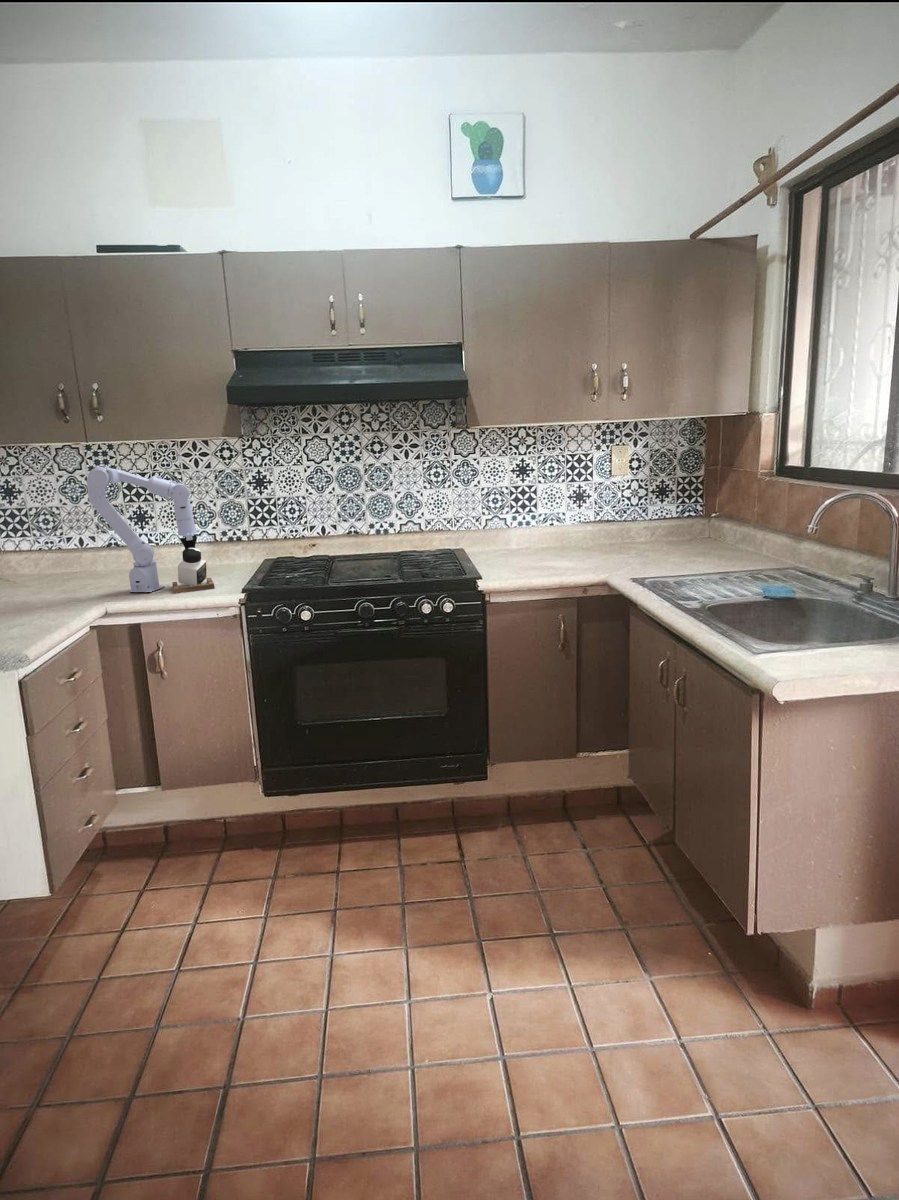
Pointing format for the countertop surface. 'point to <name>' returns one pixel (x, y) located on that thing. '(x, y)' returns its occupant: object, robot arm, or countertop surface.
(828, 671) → the countertop surface
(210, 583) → the walnut frame
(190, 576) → the medicine bottle
